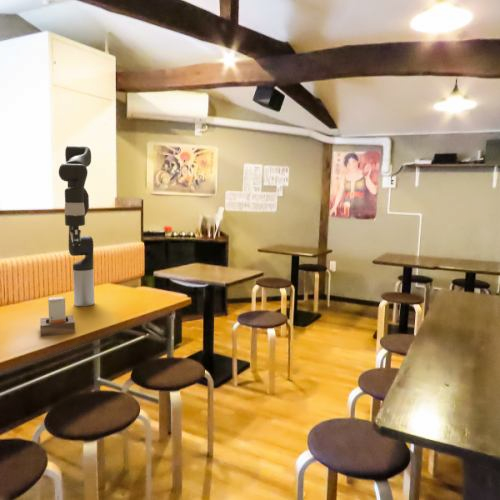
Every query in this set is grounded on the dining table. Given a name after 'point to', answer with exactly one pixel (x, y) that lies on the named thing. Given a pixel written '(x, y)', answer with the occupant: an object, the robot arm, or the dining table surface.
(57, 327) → the grey slotted box
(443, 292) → the dining table surface
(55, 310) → the skincare box
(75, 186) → the robot arm
